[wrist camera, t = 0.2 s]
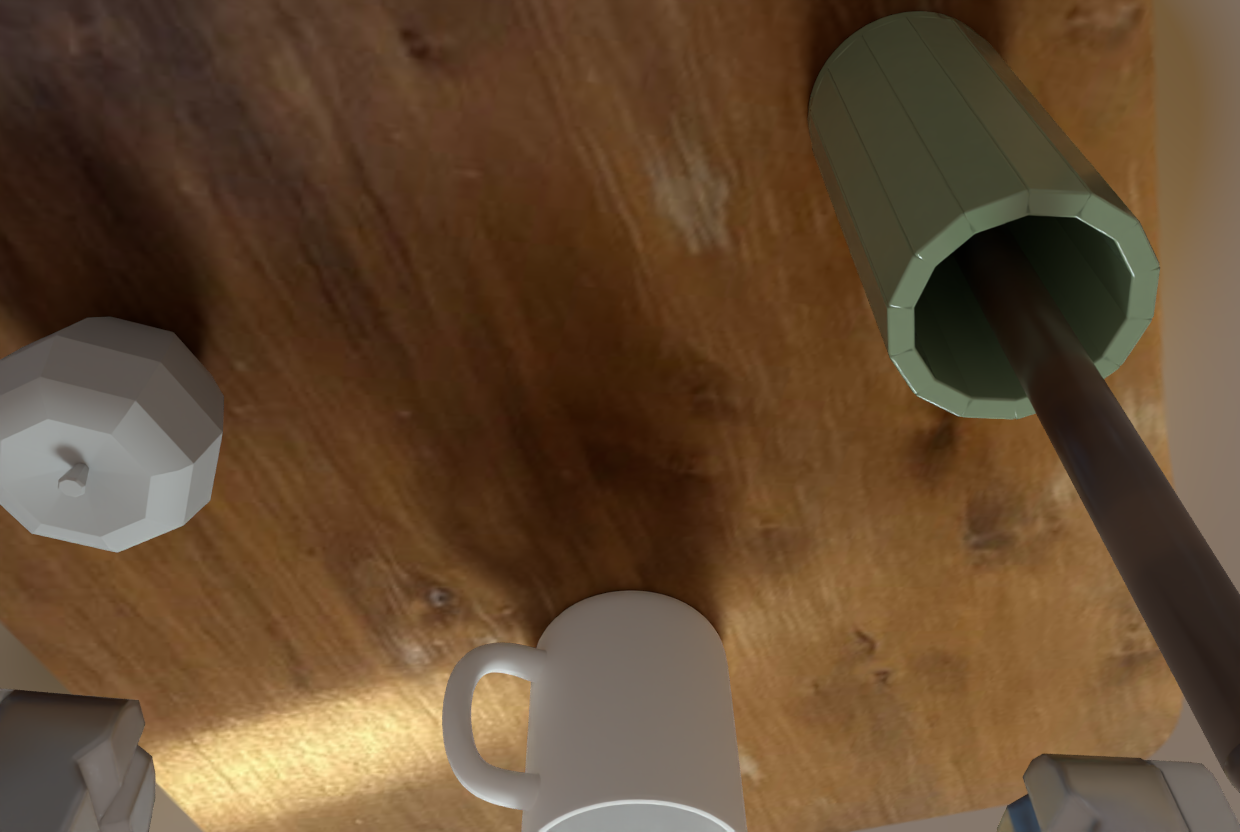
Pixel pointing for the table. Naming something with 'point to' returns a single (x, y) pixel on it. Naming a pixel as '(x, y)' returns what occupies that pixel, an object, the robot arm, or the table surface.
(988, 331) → the crock
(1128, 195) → the table surface
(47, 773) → the robot arm
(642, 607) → the cup
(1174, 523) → the dark wooden dowel
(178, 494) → the grey apple
